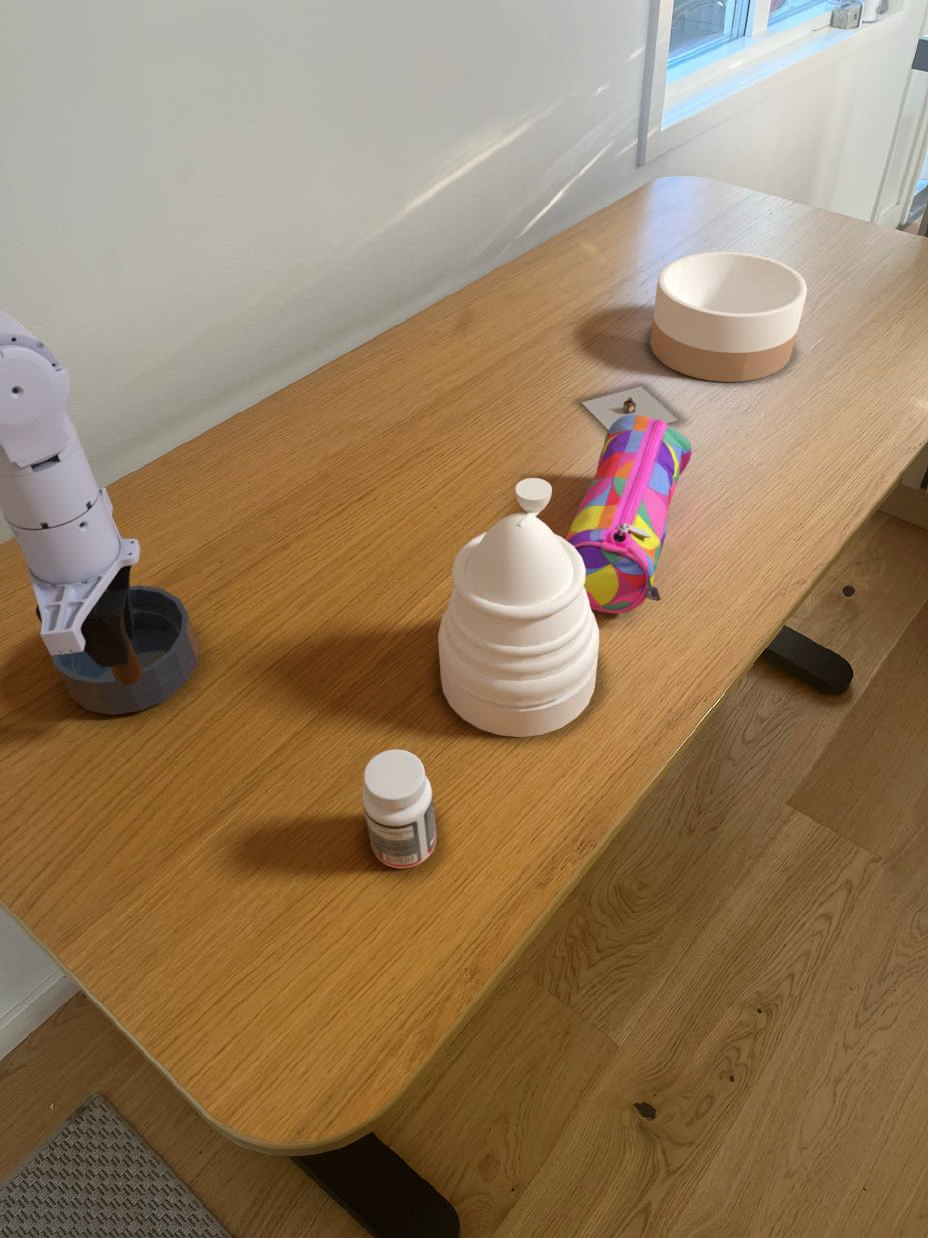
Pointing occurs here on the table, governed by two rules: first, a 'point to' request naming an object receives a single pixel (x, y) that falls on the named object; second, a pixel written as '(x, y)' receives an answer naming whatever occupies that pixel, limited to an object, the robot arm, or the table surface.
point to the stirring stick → (128, 668)
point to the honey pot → (519, 626)
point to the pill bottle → (399, 809)
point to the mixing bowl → (160, 652)
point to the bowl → (726, 315)
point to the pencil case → (628, 512)
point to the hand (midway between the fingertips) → (117, 649)
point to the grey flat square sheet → (627, 407)
